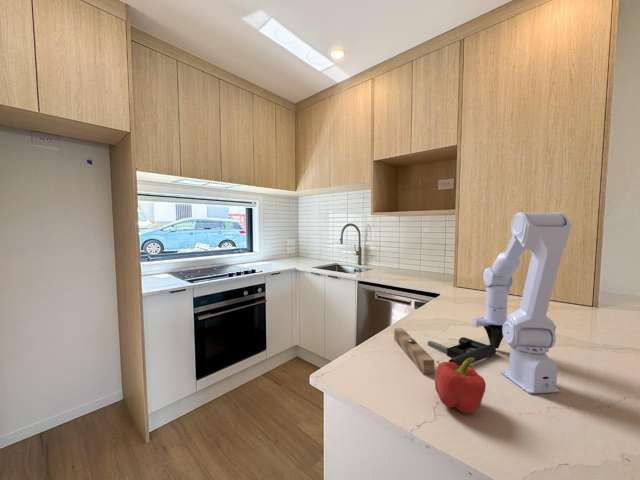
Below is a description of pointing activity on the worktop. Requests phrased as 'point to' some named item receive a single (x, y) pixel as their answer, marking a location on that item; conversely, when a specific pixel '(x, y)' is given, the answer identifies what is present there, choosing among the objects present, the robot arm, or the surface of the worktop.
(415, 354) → the bar
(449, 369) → the vegetable
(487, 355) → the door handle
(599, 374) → the worktop surface
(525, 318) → the robot arm
